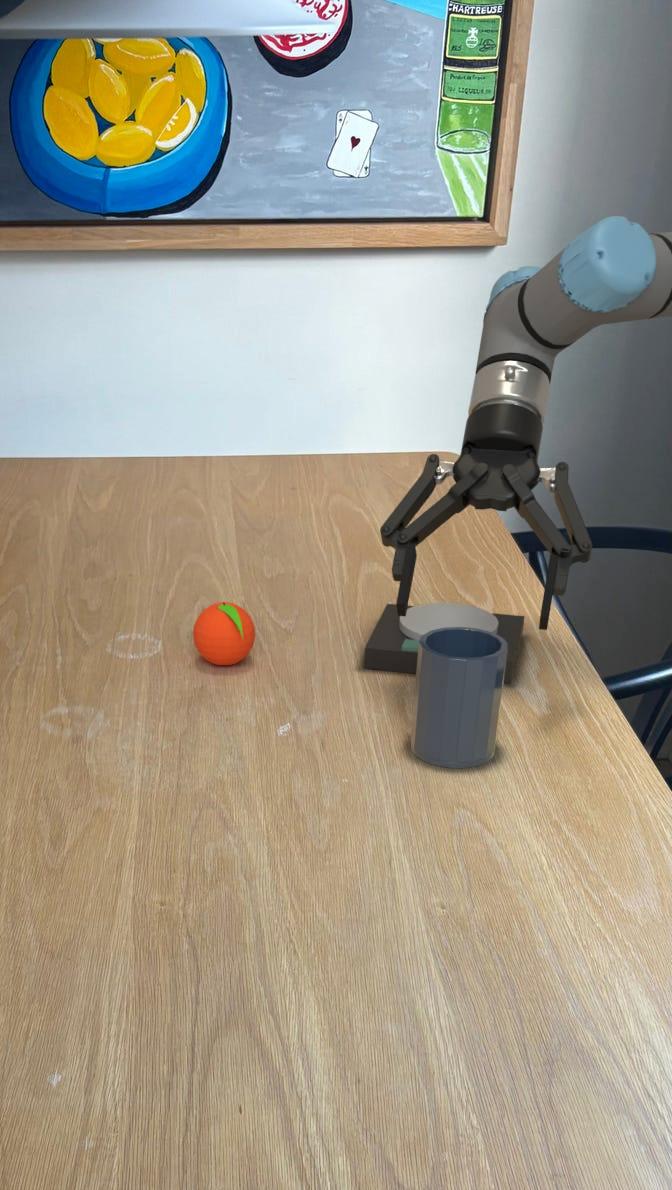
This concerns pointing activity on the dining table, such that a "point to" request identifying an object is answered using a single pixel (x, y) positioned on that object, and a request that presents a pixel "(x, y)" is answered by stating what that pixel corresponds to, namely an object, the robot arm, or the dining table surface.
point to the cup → (458, 696)
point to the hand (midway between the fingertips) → (471, 617)
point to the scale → (401, 634)
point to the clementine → (224, 633)
